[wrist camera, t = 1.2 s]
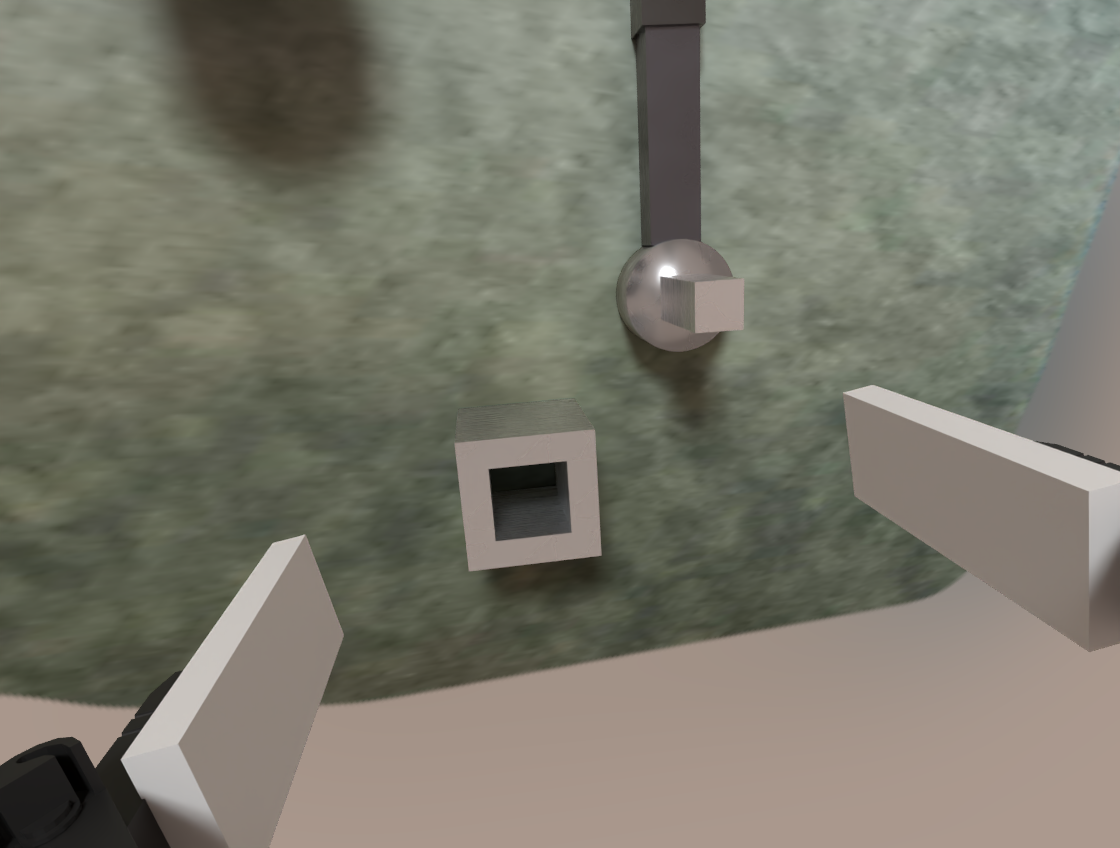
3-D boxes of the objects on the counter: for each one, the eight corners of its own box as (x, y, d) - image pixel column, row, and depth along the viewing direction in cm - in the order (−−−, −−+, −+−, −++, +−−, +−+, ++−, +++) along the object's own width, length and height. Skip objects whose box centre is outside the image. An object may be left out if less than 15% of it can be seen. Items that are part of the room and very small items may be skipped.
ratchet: (715, 339, 34) (780, 365, 27) (617, 348, 34) (657, 376, 26) (716, -159, 28) (798, -297, 21) (597, -159, 28) (640, -300, 20)
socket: (470, 517, 35) (469, 571, 29) (458, 409, 33) (454, 443, 28) (581, 505, 36) (601, 555, 30) (574, 398, 34) (594, 429, 28)
